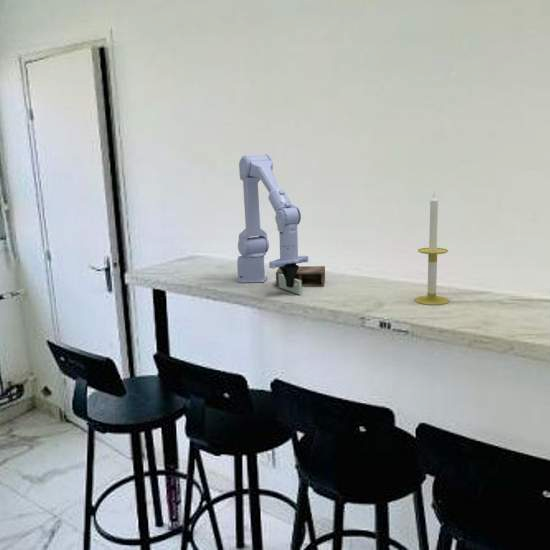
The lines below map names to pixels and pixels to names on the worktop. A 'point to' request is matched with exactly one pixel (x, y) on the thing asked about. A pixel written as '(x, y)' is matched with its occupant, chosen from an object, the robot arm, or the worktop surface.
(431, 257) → the candle
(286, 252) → the robot arm
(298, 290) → the door
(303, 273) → the cabinet
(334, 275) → the worktop surface
